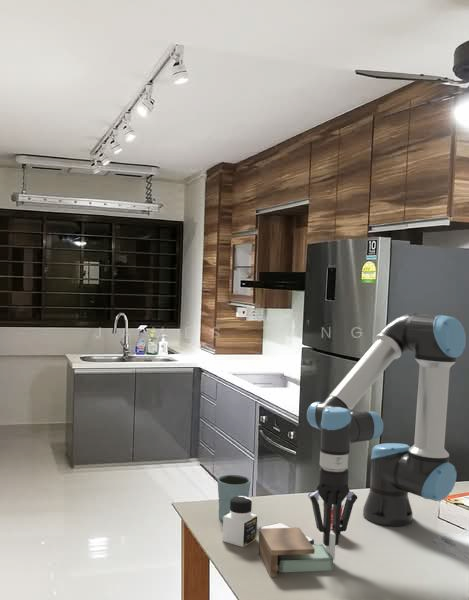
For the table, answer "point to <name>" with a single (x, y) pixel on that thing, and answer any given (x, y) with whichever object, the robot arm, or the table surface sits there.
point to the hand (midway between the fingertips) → (330, 557)
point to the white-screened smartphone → (281, 525)
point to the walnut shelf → (281, 546)
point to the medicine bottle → (240, 522)
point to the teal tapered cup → (231, 491)
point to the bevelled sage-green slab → (306, 561)
